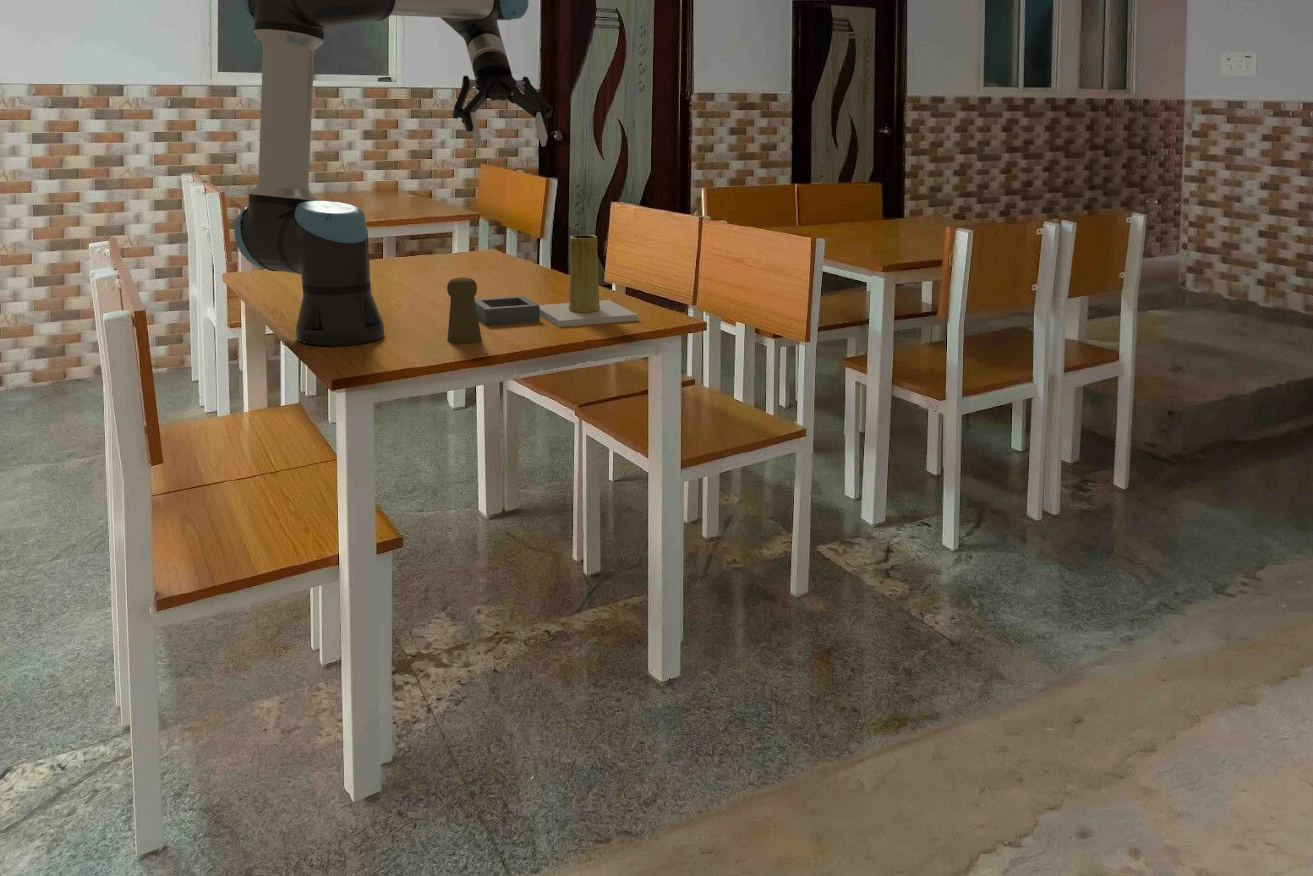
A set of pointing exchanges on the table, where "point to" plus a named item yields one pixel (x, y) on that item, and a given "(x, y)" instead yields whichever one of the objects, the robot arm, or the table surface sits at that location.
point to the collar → (507, 310)
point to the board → (586, 314)
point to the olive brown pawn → (463, 312)
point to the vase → (583, 274)
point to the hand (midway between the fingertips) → (511, 141)
